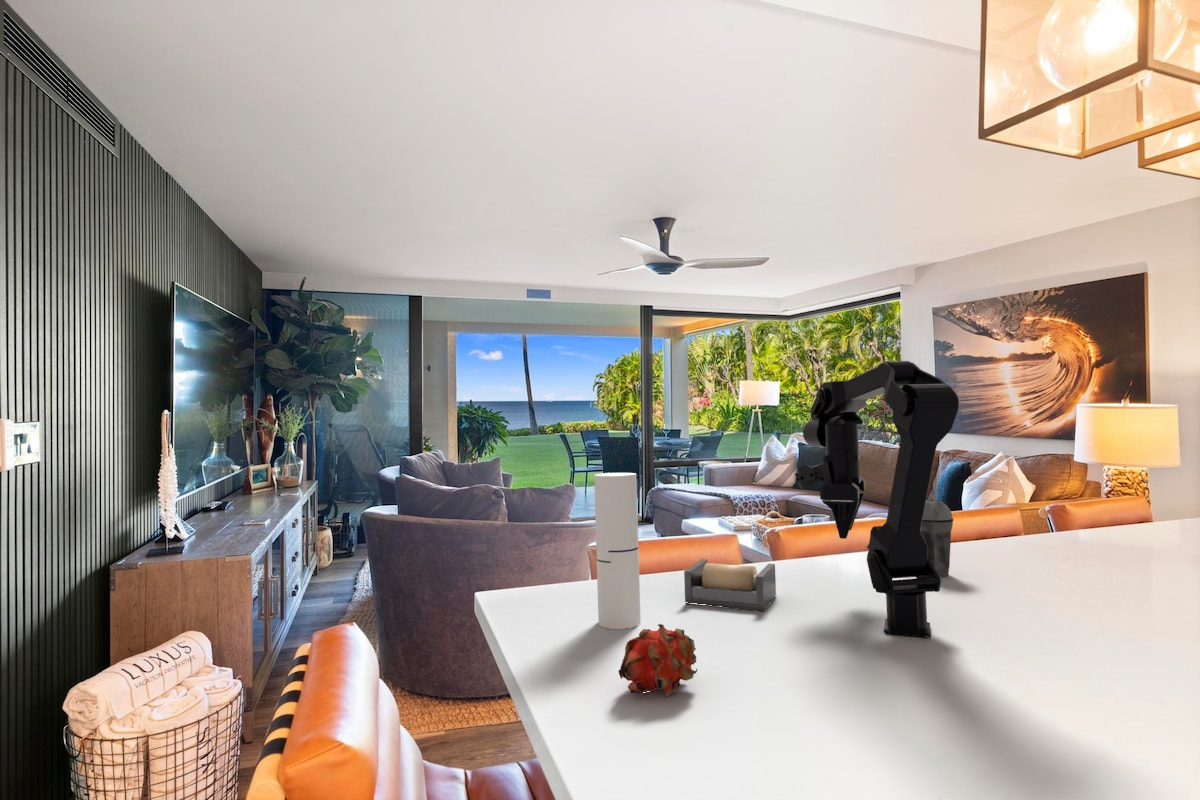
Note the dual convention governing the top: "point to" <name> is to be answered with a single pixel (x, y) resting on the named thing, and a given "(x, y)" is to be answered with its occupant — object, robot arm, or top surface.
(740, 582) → the paper roll
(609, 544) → the cylindrical container
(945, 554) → the beverage cup
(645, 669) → the dragon fruit
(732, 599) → the cradle
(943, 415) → the robot arm
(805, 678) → the top surface
